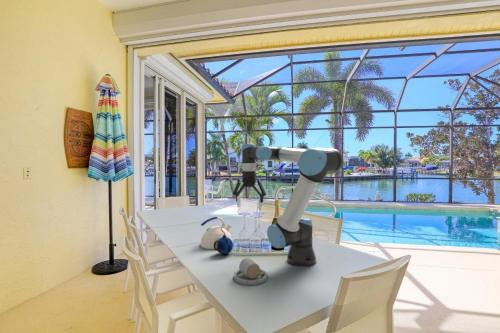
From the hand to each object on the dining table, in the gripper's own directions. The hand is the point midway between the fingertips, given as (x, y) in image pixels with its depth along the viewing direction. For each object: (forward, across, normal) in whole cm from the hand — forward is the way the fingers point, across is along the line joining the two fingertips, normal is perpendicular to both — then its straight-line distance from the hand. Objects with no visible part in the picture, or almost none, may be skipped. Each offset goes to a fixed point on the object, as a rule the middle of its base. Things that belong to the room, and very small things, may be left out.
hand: (249, 207), depth 160 cm
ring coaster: (+27, -14, +30) cm, 43 cm away
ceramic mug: (+26, -14, +29) cm, 42 cm away
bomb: (+27, +14, +6) cm, 31 cm away
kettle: (+27, +28, -9) cm, 40 cm away
